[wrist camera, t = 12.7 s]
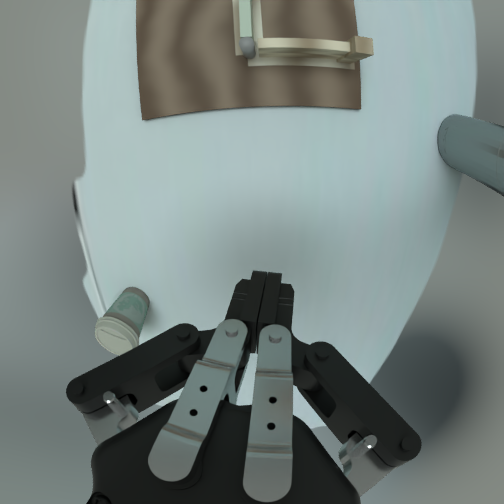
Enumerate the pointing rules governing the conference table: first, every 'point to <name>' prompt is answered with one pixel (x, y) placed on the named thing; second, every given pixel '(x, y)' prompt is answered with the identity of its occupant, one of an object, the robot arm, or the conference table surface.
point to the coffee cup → (123, 322)
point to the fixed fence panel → (317, 48)
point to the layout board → (240, 56)
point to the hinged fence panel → (246, 29)
